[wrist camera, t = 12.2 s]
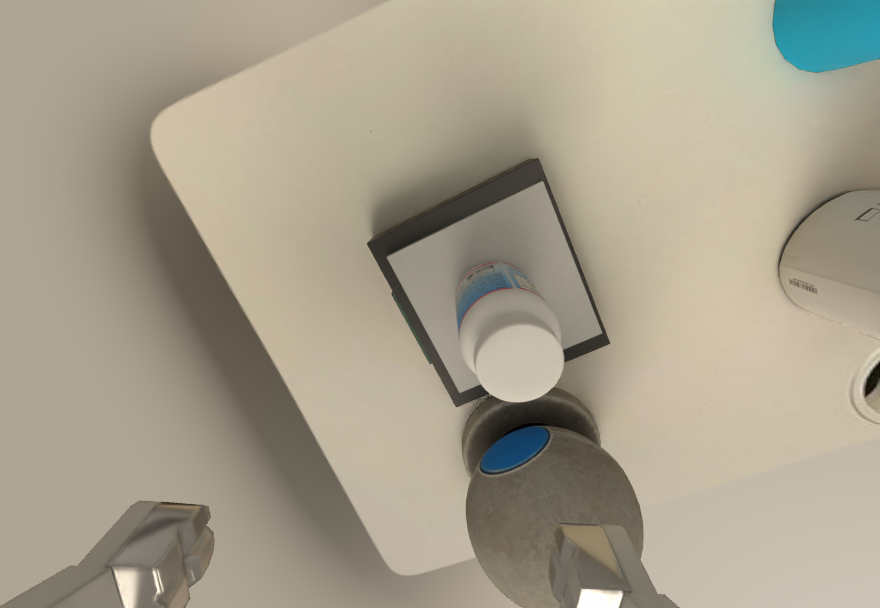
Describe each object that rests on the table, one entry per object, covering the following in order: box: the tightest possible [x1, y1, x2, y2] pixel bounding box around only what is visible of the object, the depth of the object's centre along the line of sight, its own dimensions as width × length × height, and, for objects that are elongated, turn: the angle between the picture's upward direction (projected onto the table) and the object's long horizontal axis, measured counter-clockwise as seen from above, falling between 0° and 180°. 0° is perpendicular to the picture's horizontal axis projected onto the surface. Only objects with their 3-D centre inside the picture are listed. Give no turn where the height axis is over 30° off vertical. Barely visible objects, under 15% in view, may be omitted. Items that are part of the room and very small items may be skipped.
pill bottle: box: [455, 261, 564, 402], centre depth 26 cm, size 6×6×11 cm
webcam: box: [462, 388, 643, 608], centre depth 33 cm, size 13×13×15 cm
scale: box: [367, 158, 610, 407], centre depth 33 cm, size 16×14×3 cm
